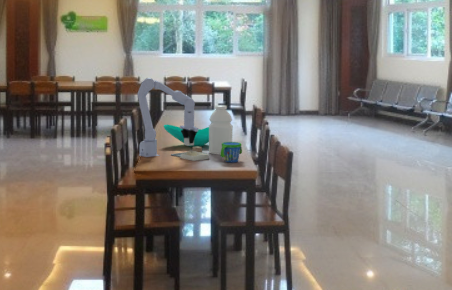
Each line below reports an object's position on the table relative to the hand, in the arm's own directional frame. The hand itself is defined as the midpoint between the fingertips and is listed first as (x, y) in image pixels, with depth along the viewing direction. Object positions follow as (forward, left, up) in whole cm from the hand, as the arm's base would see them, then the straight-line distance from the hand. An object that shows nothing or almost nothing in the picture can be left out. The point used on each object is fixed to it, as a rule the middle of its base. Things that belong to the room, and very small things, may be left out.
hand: (188, 142), depth 373 cm
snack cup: (+6, -30, -8) cm, 31 cm away
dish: (-5, -12, -8) cm, 15 cm away
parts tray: (0, 0, -8) cm, 8 cm away
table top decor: (+26, +26, -8) cm, 38 cm away
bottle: (+20, -5, -8) cm, 22 cm away
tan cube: (+6, 0, -7) cm, 9 cm away
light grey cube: (0, 0, -1) cm, 1 cm away
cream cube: (-7, -12, -7) cm, 15 cm away
